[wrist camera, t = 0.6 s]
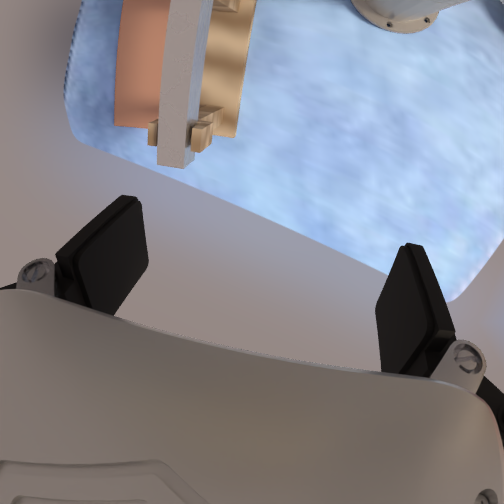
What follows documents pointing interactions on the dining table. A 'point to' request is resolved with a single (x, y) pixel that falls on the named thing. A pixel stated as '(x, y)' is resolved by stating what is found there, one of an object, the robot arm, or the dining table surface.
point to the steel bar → (182, 80)
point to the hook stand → (220, 73)
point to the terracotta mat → (140, 62)
